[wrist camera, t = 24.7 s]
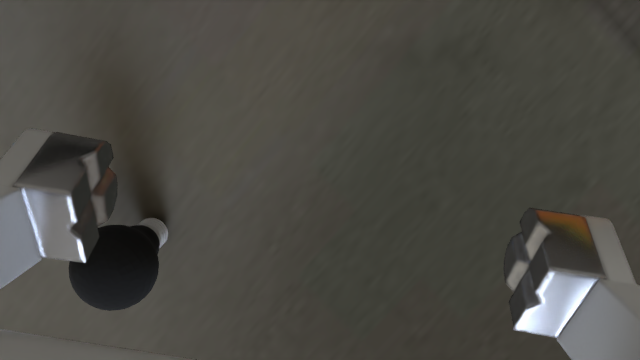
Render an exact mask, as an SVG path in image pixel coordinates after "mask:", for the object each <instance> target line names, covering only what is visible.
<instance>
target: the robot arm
mask: <svg viewBox="0 0 640 360" xmlns="http://www.w3.org/2000/svg"><path fill="white" fill-rule="evenodd" d="M113 158H114V157H113V152H112V147H111V144H110V143H108V142H107V141H103V140H98V139H92V138H87V137H81V136H76V135H70V134H65V133H59V132H56V133H55V132H51V131H45V130H40V129H34V128H30V129H27V130H25V131H23V132H22V134H21V135H20V136H19V137H18V138H17V140H16V141H15V142H14V143H13V145H12V146H11V147H10V148H9V150H8V151H7V152H6V153H5V154H4V156H3V157H2V158H1V159H0V289H1V288H2V287H4V286H5V285H7V284H8V283H9V282H11V281H12V280H14V279H15V278H16V277H18V276H19V275H21V274H22V273H23V272H25V271H26V270H28V269H29V268H30V267H32V266H33V265H35V264H36V263H37V262H39V261H40V260H41V257H43V258H50V259H58V260H66V261H74V262H81V263H86V262H87V260H88V258H89V256H90V254H91V252H92V250H93V248H94V247H95V245H96V243H97V241H98V239H99V233H98V226H100V225H101V224H103V223H105V222H107V221H108V220H109V218H110V216H111V214H112V212H113V210H114V206H115V202H116V198H117V185H118V184H117V177H116V174H115V173H114V172H113V171H112V170H111V169H110V168H109V165H110V163H111V161H112V160H113ZM520 225H521V230H522V232H520V233H518V234H516V235H515V236H513V237H512V238H511V240H510V242H509V244H508V246H507V249H506V253H505V258H504V276H505V283H506V284H507V285H508V286H509V287H510V288H511V289H512V291H513V292H514V293H513V295H512V296H511V298H510V300H509V305H510V311H511V316H512V321H513V327H514V330H517V331H523V332H528V333H534V334H539V335H545V336H550V337H556V338H558V339H557V341H558V342H559V343H560V345H561V346H562V347H563V349H564V350H565V351H566V353H567V354H568V355H569V357H570V358H571V359H572V360H640V285H637V284H636V281H635V279H634V276H633V274H632V271H631V269H630V266H629V264H628V261H627V259H626V256H625V254H624V251H623V249H622V246H621V244H620V241H619V239H618V236H617V234H616V231H615V229H614V226H613V224H612V222H611V221H610V220H608V219H607V218H599V217H592V216H585V215H575V214H569V213H562V212H555V211H549V210H542V209H535V208H529V209H528V210H527V211H525V212H524V214H523V216H522V218H521V220H520ZM0 360H197V359H190V358H184V357H177V356H171V355H165V354H158V353H152V352H145V351H139V350H132V349H126V348H119V347H113V346H106V345H100V344H94V343H87V342H81V341H74V340H68V339H61V338H55V337H48V336H42V335H36V334H29V333H23V332H16V331H10V330H3V329H0Z"/></svg>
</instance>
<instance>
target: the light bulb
mask: <svg viewBox="0 0 640 360" xmlns="http://www.w3.org/2000/svg"><path fill="white" fill-rule="evenodd" d="M98 233H99V239H98V241H97V243H96V245H95V247H94V248H93V250H92V252H91V254H90V256H89V258H88V260H87V262H86V263H81V262H74V261H70V263H69V278H70V281H71V284H72V287H73V288H74V290H75V292H76V293H77V295H78V296H79V297H80V298H81V299H82V300H83V301H85V302H86V303H88V304H89V305H91V306H93V307H96V308H99V309H102V310H109V311H110V310H121V309H125V308H128V307H130V306H132V305H135V304H136V303H138V302H139V301H141V300H142V299H143V298H144V297H145V296H146V295H147V294H148V293H149V292H150V291H151V289H152V287H153V285H154V284H155V281H156V279H157V275H158V267H159V261H158V256H157V254H158V251H159V248H160V247H161V246H162V245H163V244H164V243H165V242H166V240H167V238H168V230H167V228H166V226H165V224H164V223H163V222H162V221H160V220H158V219H156V218H147V219H144V220H143V221H142V222H140V223H139V224H138V225H136V226H131V227H128V226H125V225H108V226H103V227H100V228H98Z"/></svg>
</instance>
